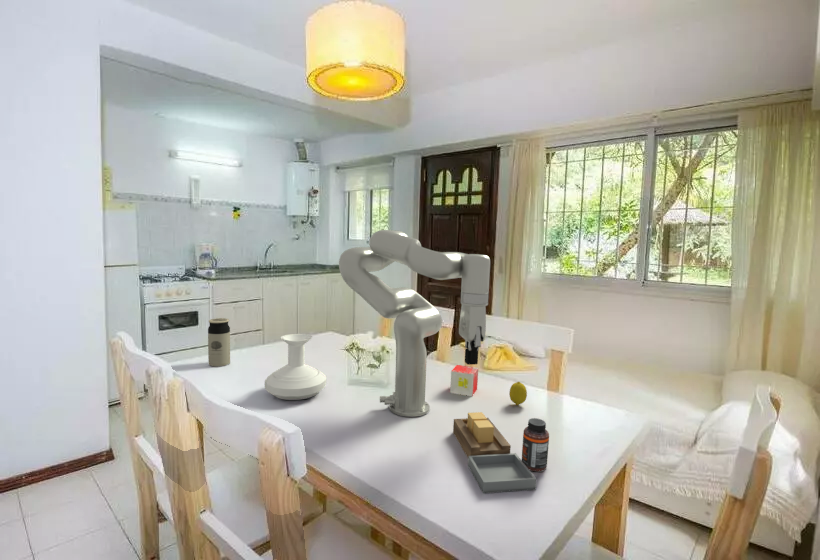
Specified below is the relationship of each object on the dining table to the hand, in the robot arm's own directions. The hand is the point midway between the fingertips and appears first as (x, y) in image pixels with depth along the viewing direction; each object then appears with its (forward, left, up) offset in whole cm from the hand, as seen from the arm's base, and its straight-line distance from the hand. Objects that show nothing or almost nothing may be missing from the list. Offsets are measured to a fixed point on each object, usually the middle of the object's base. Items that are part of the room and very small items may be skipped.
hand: (471, 363), depth 120 cm
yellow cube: (0, -8, -16) cm, 18 cm away
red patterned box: (+8, +28, -19) cm, 35 cm away
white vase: (-50, +30, -19) cm, 62 cm away
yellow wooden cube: (0, -13, -16) cm, 20 cm away
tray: (0, -25, -19) cm, 31 cm away
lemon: (+22, +14, -19) cm, 32 cm away
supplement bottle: (+10, -21, -19) cm, 30 cm away
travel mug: (-83, +64, -19) cm, 107 cm away
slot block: (0, -11, -19) cm, 22 cm away
